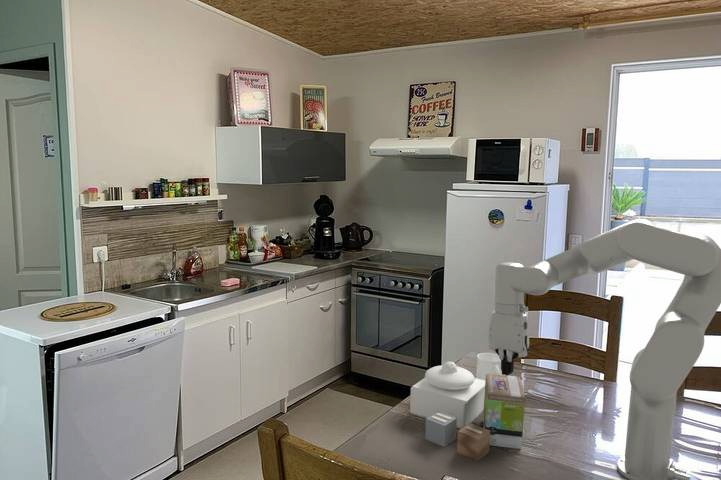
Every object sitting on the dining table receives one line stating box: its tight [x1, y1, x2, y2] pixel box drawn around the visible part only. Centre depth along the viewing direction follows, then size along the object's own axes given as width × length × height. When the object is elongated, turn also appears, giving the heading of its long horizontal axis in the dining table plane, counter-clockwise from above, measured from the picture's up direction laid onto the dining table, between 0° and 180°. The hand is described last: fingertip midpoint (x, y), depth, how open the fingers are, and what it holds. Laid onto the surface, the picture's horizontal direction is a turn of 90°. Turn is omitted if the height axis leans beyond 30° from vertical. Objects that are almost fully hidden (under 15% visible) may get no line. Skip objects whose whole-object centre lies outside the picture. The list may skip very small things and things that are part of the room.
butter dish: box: [409, 361, 485, 429], centre depth 160 cm, size 18×18×16 cm
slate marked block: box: [425, 411, 457, 448], centre depth 143 cm, size 6×6×6 cm
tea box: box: [482, 374, 526, 450], centre depth 146 cm, size 15×10×15 cm, turn 168°
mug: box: [475, 352, 503, 381], centre depth 177 cm, size 9×12×11 cm
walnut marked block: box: [456, 422, 491, 462], centre depth 137 cm, size 6×6×6 cm
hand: (507, 373), depth 144 cm, fingers closed
